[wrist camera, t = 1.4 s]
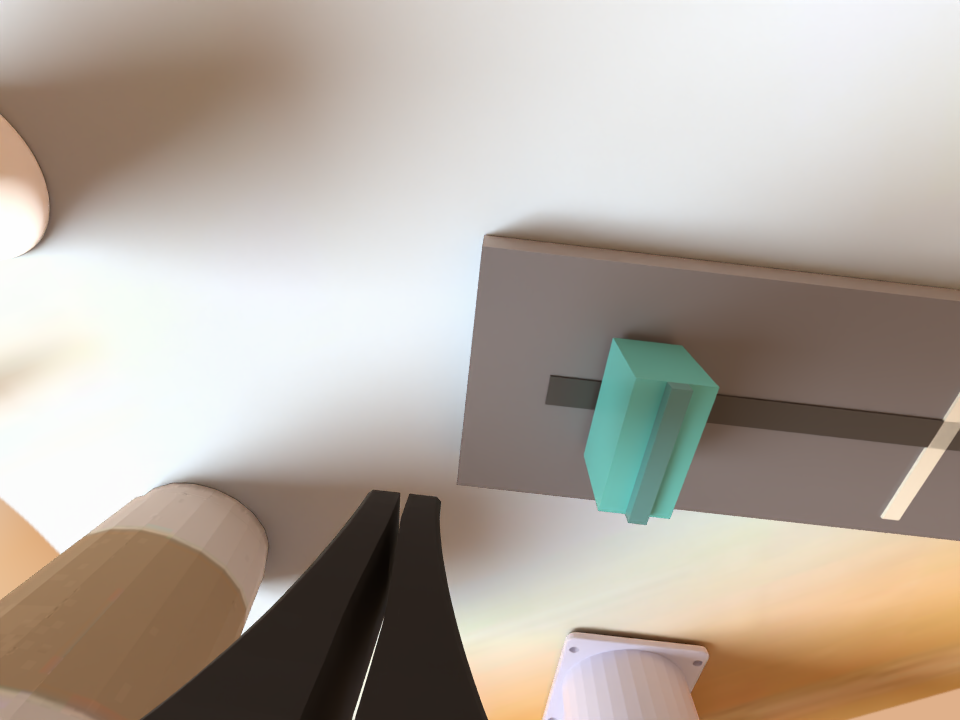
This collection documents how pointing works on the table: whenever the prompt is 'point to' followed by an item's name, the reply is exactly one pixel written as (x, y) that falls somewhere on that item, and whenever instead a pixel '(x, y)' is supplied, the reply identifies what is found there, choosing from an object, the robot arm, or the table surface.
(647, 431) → the fader tab
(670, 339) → the fader console
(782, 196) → the table surface
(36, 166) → the beer glass
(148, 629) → the coffee cup
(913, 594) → the table surface
